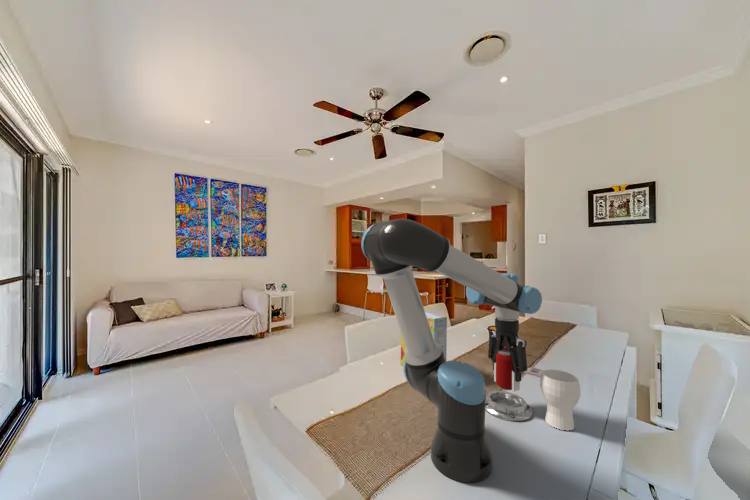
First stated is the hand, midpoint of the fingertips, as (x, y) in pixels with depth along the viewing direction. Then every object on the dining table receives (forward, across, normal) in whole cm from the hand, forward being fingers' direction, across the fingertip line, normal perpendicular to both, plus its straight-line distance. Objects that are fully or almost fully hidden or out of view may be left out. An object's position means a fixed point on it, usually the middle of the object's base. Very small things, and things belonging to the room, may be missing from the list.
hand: (506, 385), depth 100 cm
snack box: (+8, +38, +9) cm, 40 cm away
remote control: (+9, +13, -36) cm, 39 cm away
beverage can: (+1, 0, 0) cm, 1 cm away
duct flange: (+8, 0, 0) cm, 8 cm away
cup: (+8, -13, -8) cm, 17 cm away
